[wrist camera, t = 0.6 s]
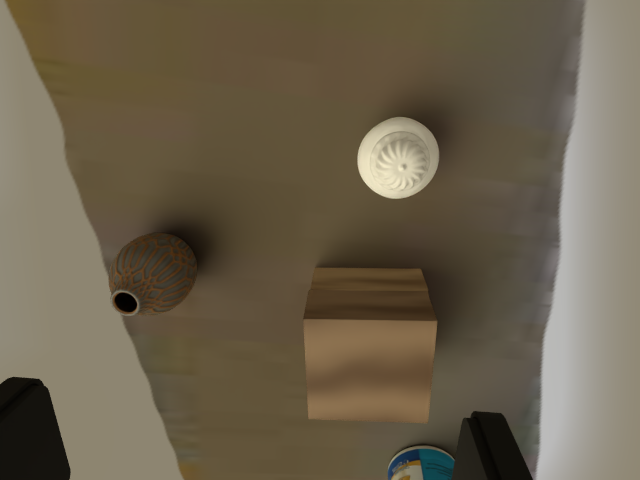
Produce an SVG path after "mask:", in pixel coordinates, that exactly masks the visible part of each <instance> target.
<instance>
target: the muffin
mask: <svg viewBox="0 0 640 480" xmlns="http://www.w3.org/2000/svg"><path fill="white" fill-rule="evenodd" d="M438 163H439V149H438V145H437V142H436V140H435V138H434V136H433V134H432V133H431V132H430V131H429V130H428V129H427V128H426V127H425V126H424V125H422V124H421V123H419V122H417V121H416V120H413V119H411V118H406V117H395V118H391V119H388V120H385V121H383V122H381V123H379V124H378V125H376V126H375V127H374V128H372V129H371V130H370V131H369V132H368V133H367V134H366V136H365V137H364V139H363V140H362V142H361V145H360V148H359V151H358V168H359V172H360V175H361V177H362V179H363V180H364V182H365V183H366V184H367V185H368V187H370V188H371V189H372V190H373V191H375V192H376V193H378V194H380V195H382V196H384V197H387V198H393V199H399V198H405V197H408V196H411V195H414V194H415V193H417V192H419V191H420V190H422V189H423V188H424V187H425V186H426V185H427V184H428V183H429V182H430V181H431V179H432V178H433V176H434V174H435V172H436V170H437V167H438Z"/></svg>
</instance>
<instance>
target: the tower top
mask: <svg viewBox="0 0 640 480" xmlns="http://www.w3.org/2000/svg"><path fill="white" fill-rule="evenodd" d="M303 322H304V341H305V360H306V379H307V399H308V418H309V419H325V420H354V421H382V422H411V423H428V416H429V405H430V395H431V384H432V374H433V363H434V353H435V342H436V331H437V318H436V316H435V313H434V310H433V307H432V304H431V301H430V298H429V295H428V292H427V291H366V290H309V293H308V298H307V303H306V308H305V313H304V318H303Z"/></svg>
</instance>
